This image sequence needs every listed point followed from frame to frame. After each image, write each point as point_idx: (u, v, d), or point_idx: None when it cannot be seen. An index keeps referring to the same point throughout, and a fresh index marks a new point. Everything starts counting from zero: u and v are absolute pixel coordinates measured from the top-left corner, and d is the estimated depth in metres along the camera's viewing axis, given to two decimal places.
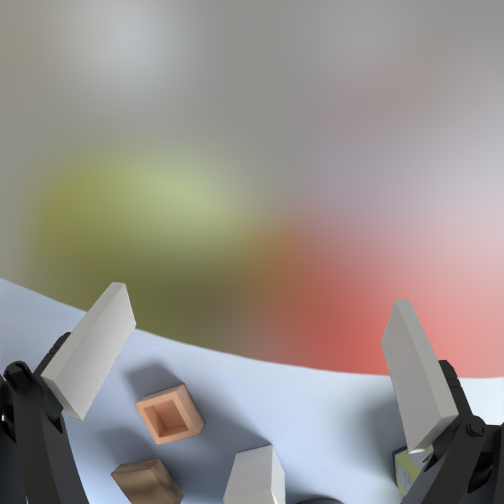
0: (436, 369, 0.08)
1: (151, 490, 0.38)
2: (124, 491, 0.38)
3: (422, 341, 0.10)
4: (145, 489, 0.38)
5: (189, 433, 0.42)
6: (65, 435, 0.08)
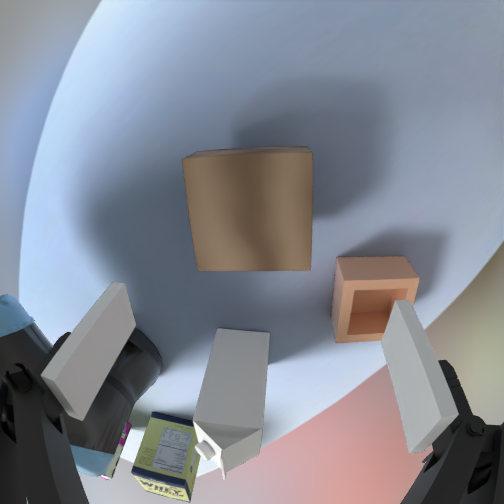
0: (436, 369, 0.08)
1: (253, 241, 0.25)
2: (251, 161, 0.22)
3: (422, 341, 0.10)
4: (255, 226, 0.24)
5: (342, 333, 0.32)
6: (65, 435, 0.08)
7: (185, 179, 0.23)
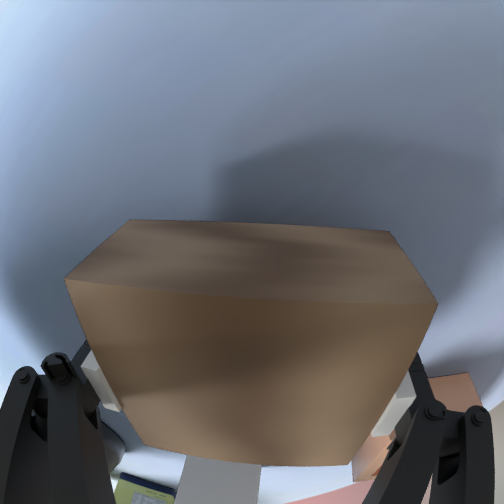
0: None
1: (247, 440, 0.10)
2: (256, 316, 0.07)
3: None
4: (253, 426, 0.09)
5: (365, 476, 0.17)
6: (99, 430, 0.08)
7: (82, 324, 0.08)
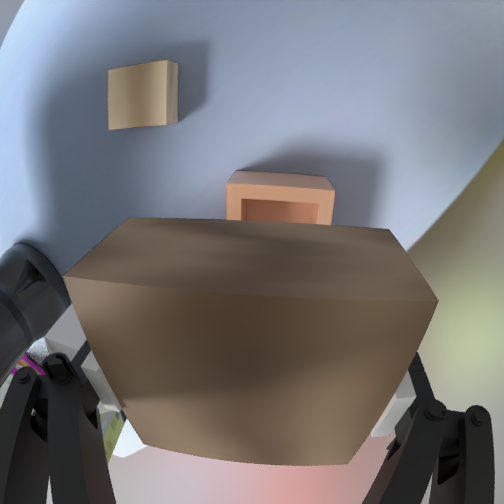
0: None
1: (246, 439, 0.10)
2: (255, 313, 0.07)
3: None
4: (253, 424, 0.09)
5: None
6: (99, 430, 0.08)
7: (81, 322, 0.08)
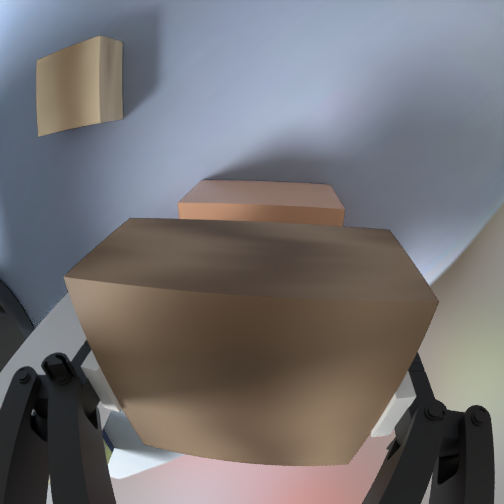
0: None
1: (247, 440, 0.10)
2: (256, 314, 0.07)
3: None
4: (253, 425, 0.09)
5: None
6: (99, 430, 0.08)
7: (81, 322, 0.08)
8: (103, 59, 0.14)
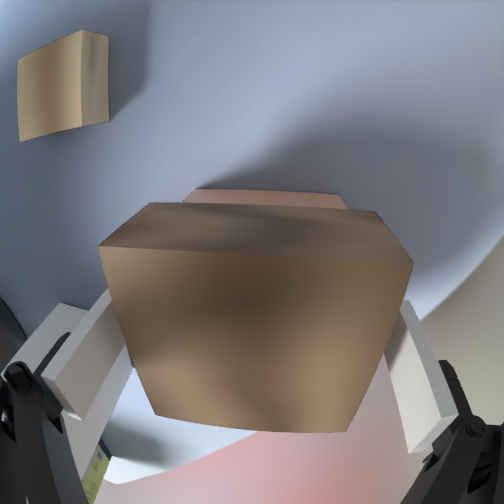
0: (436, 369, 0.08)
1: (252, 401, 0.12)
2: (263, 271, 0.09)
3: (422, 341, 0.10)
4: (259, 384, 0.11)
5: None
6: (65, 435, 0.08)
7: (110, 288, 0.10)
8: (85, 55, 0.12)
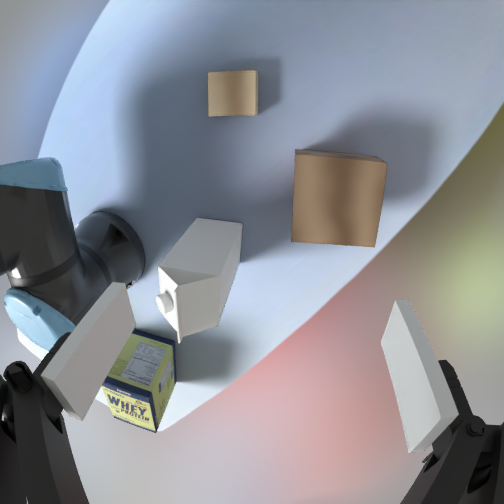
0: (436, 369, 0.08)
1: (338, 222, 0.32)
2: (346, 163, 0.29)
3: (422, 341, 0.10)
4: (342, 210, 0.31)
5: None
6: (65, 435, 0.08)
7: (295, 170, 0.30)
8: (255, 83, 0.32)
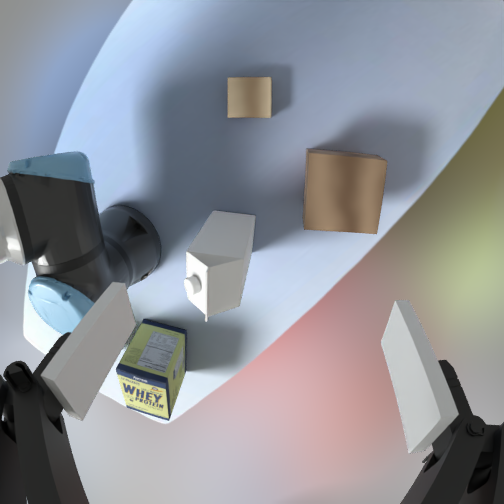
0: (436, 369, 0.08)
1: (345, 211, 0.37)
2: (352, 160, 0.33)
3: (422, 341, 0.10)
4: (348, 201, 0.36)
5: None
6: (65, 435, 0.08)
7: (309, 166, 0.34)
8: (271, 88, 0.37)
